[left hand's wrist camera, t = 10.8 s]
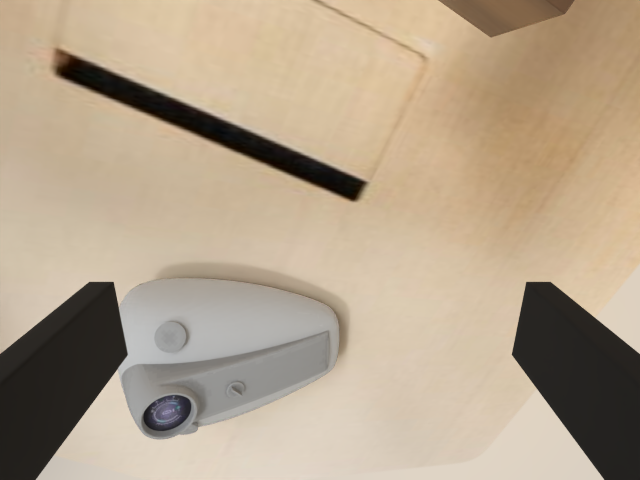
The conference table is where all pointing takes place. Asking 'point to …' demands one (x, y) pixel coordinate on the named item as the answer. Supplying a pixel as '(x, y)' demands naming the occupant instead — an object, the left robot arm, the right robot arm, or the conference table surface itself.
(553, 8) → the bar
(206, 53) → the conference table surface
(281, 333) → the projector
